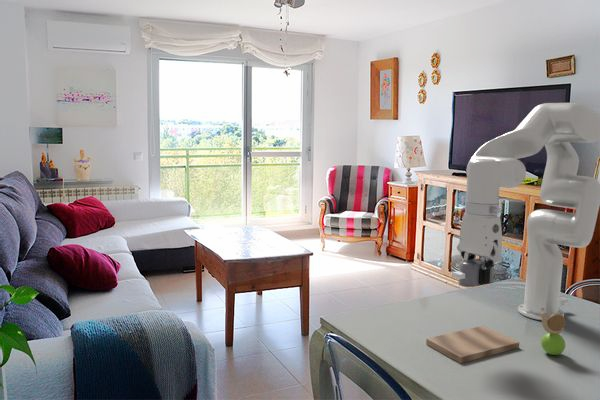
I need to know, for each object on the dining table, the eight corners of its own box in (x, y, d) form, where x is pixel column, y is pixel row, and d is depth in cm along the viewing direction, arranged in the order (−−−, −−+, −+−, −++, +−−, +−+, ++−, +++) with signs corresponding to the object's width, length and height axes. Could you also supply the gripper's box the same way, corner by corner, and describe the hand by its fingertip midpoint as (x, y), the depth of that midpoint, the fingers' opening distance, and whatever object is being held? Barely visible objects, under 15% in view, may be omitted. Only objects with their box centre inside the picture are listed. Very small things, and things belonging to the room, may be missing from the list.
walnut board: (482, 330, 144) (483, 325, 143) (519, 347, 133) (519, 342, 133) (426, 344, 134) (426, 338, 134) (460, 363, 124) (460, 357, 124)
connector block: (484, 278, 135) (485, 257, 135) (496, 282, 132) (497, 261, 131) (449, 284, 130) (450, 262, 129) (460, 288, 126) (462, 266, 126)
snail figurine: (532, 349, 132) (536, 303, 130) (556, 349, 133) (560, 303, 131) (543, 359, 127) (547, 311, 125) (569, 358, 127) (573, 311, 126)
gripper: (520, 213, 123) (514, 289, 126) (467, 203, 138) (463, 271, 140) (497, 216, 120) (492, 293, 122) (445, 205, 134) (442, 274, 137)
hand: (476, 280), depth 131 cm, fingers closed on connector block, 4 cm apart
